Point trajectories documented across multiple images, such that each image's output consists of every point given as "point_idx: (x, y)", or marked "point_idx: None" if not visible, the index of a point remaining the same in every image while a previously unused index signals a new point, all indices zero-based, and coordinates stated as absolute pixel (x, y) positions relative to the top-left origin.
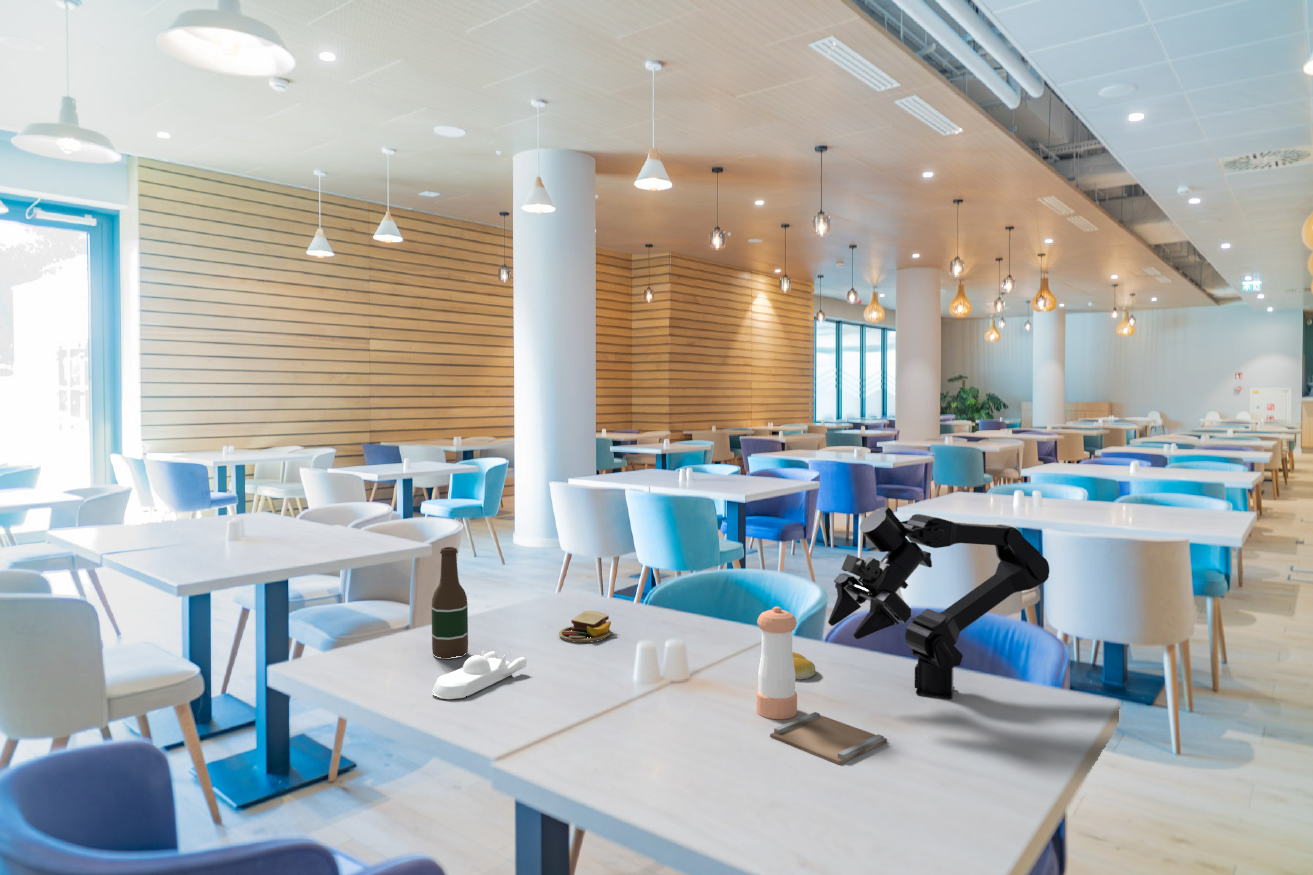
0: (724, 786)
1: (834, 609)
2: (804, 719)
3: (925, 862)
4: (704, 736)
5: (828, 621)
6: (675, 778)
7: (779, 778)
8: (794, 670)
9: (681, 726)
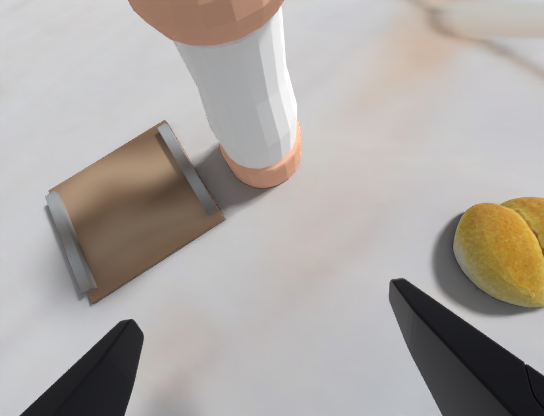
0: (56, 51)
1: (475, 345)
2: (187, 178)
3: None
4: None
5: (403, 279)
6: (91, 8)
7: (49, 109)
8: (230, 140)
9: None
